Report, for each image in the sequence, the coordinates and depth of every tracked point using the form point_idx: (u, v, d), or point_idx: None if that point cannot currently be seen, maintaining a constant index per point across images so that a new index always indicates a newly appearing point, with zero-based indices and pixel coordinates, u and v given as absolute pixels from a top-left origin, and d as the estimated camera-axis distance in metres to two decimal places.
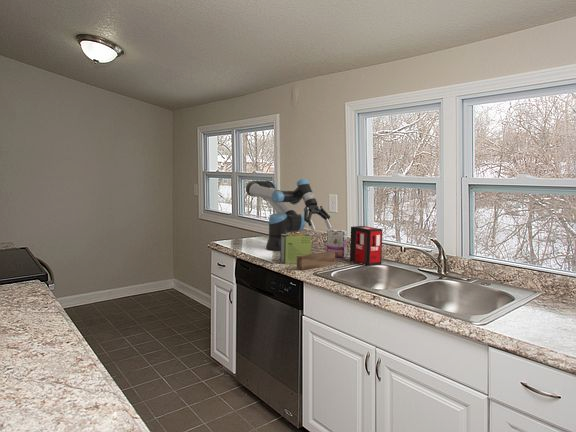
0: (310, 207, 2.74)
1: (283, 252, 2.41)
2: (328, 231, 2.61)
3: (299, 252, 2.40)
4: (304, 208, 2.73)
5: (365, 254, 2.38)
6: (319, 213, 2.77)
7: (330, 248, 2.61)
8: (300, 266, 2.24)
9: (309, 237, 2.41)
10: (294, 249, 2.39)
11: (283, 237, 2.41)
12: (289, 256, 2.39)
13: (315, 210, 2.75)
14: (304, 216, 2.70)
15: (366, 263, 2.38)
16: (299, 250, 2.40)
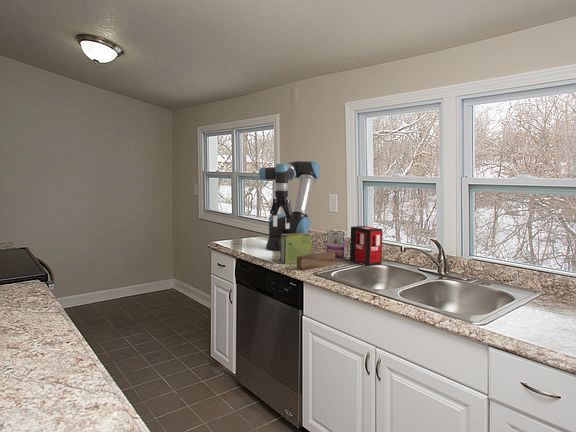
0: (276, 199, 2.55)
1: (283, 252, 2.41)
2: (328, 231, 2.61)
3: (299, 252, 2.40)
4: None
5: (365, 254, 2.38)
6: None
7: (330, 248, 2.61)
8: (300, 266, 2.24)
9: (309, 237, 2.41)
10: (294, 249, 2.39)
11: (283, 237, 2.41)
12: (289, 256, 2.39)
13: (280, 204, 2.53)
14: None
15: (366, 263, 2.38)
16: (299, 250, 2.40)
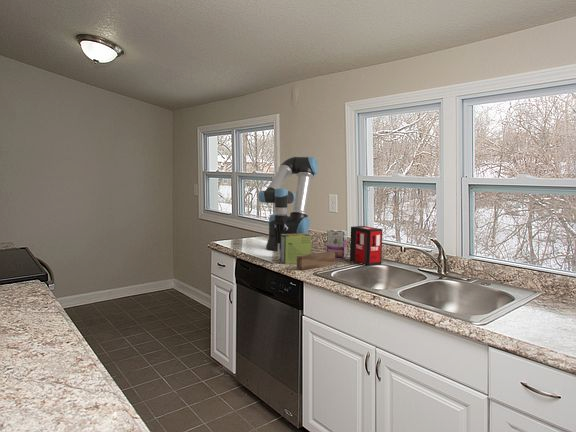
0: (276, 223, 2.56)
1: (283, 252, 2.41)
2: (328, 231, 2.61)
3: (299, 252, 2.40)
4: None
5: (365, 254, 2.38)
6: None
7: (330, 248, 2.61)
8: (300, 266, 2.24)
9: (309, 237, 2.41)
10: (294, 249, 2.39)
11: (283, 237, 2.41)
12: (289, 256, 2.39)
13: None
14: None
15: (366, 263, 2.38)
16: (299, 250, 2.40)
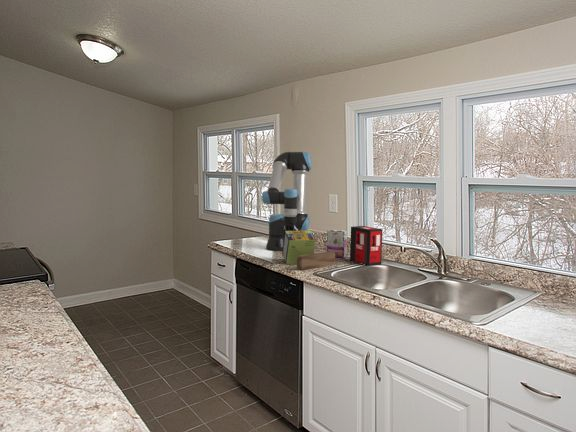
0: (285, 225, 2.50)
1: (285, 252, 2.38)
2: (328, 231, 2.61)
3: (301, 254, 2.37)
4: None
5: (365, 254, 2.38)
6: None
7: (330, 248, 2.61)
8: (300, 266, 2.24)
9: (313, 241, 2.35)
10: (296, 251, 2.36)
11: (287, 238, 2.35)
12: (291, 257, 2.37)
13: (288, 229, 2.47)
14: None
15: (366, 263, 2.38)
16: (301, 252, 2.37)
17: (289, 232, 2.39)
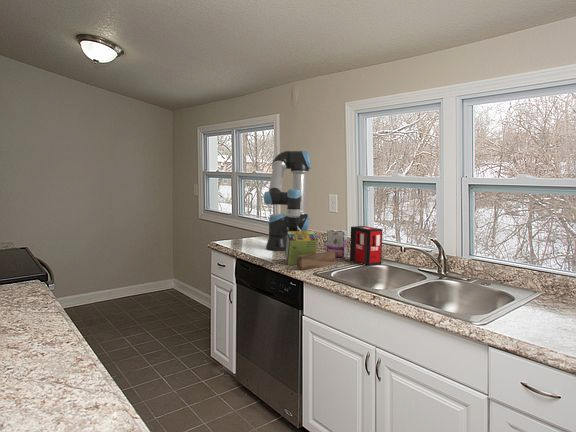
0: (288, 225, 2.47)
1: (287, 253, 2.36)
2: (328, 231, 2.61)
3: None
4: None
5: (365, 254, 2.38)
6: None
7: (330, 248, 2.61)
8: (300, 266, 2.24)
9: (315, 241, 2.32)
10: (298, 252, 2.33)
11: (288, 238, 2.33)
12: (292, 258, 2.34)
13: (292, 230, 2.45)
14: None
15: (366, 263, 2.38)
16: (303, 253, 2.34)
17: (291, 233, 2.37)
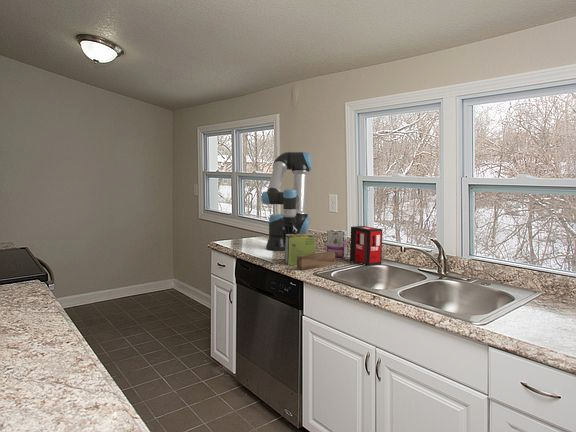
0: (284, 225, 2.50)
1: (287, 253, 2.37)
2: (328, 231, 2.61)
3: (302, 254, 2.36)
4: None
5: (365, 254, 2.38)
6: None
7: (330, 248, 2.61)
8: (300, 266, 2.24)
9: (313, 238, 2.36)
10: (297, 250, 2.35)
11: (287, 238, 2.37)
12: (292, 257, 2.35)
13: (288, 230, 2.48)
14: None
15: (366, 263, 2.38)
16: (303, 251, 2.36)
17: (289, 234, 2.41)
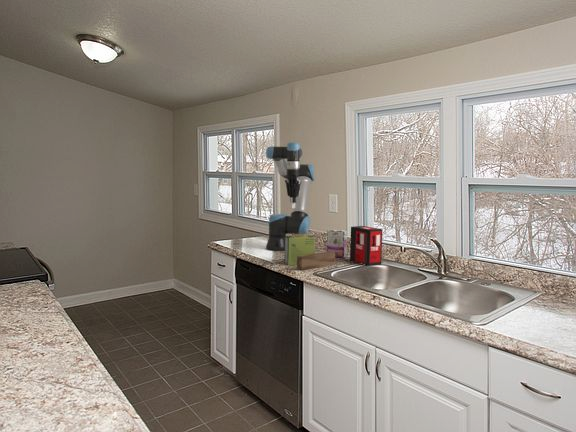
0: (288, 178, 2.60)
1: (287, 253, 2.37)
2: (328, 231, 2.61)
3: (302, 254, 2.36)
4: None
5: (365, 254, 2.38)
6: None
7: (330, 248, 2.61)
8: (300, 266, 2.24)
9: (313, 238, 2.37)
10: (297, 250, 2.35)
11: (287, 238, 2.38)
12: (292, 257, 2.35)
13: (291, 182, 2.58)
14: None
15: (366, 263, 2.38)
16: (302, 251, 2.36)
17: (289, 235, 2.42)
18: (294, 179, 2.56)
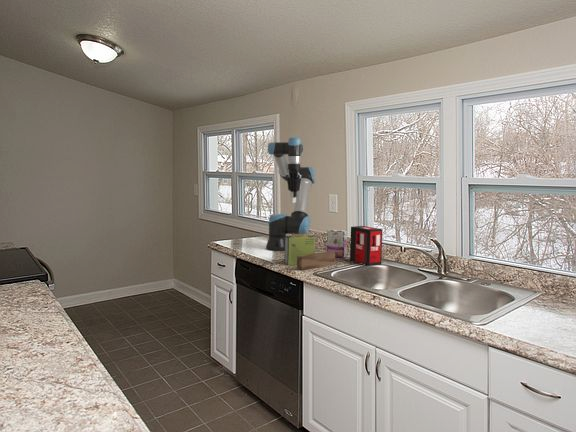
0: (289, 172, 2.63)
1: (287, 253, 2.37)
2: (328, 231, 2.61)
3: (302, 254, 2.36)
4: None
5: (365, 254, 2.38)
6: None
7: (330, 248, 2.61)
8: (300, 266, 2.24)
9: (313, 238, 2.37)
10: (297, 250, 2.35)
11: (287, 238, 2.38)
12: (292, 257, 2.35)
13: (292, 176, 2.61)
14: None
15: (366, 263, 2.38)
16: (302, 251, 2.36)
17: (289, 235, 2.42)
18: (295, 173, 2.59)
